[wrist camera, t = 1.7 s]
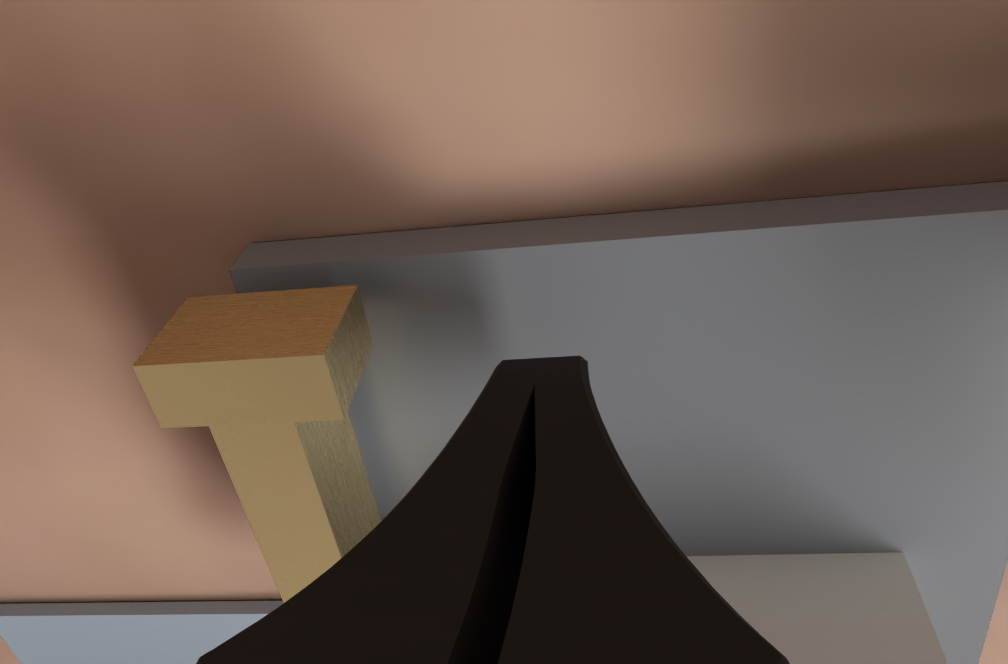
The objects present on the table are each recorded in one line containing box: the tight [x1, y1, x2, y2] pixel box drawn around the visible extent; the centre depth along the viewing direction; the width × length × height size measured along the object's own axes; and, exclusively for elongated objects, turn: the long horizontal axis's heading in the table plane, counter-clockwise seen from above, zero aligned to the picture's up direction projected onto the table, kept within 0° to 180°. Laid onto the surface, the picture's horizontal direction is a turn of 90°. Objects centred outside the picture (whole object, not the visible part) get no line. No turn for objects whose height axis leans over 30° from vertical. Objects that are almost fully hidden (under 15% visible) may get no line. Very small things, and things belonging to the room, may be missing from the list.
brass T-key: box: [132, 285, 382, 603], centre depth 15 cm, size 8×3×3 cm, turn 8°
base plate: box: [229, 181, 1008, 664], centre depth 18 cm, size 16×14×1 cm
